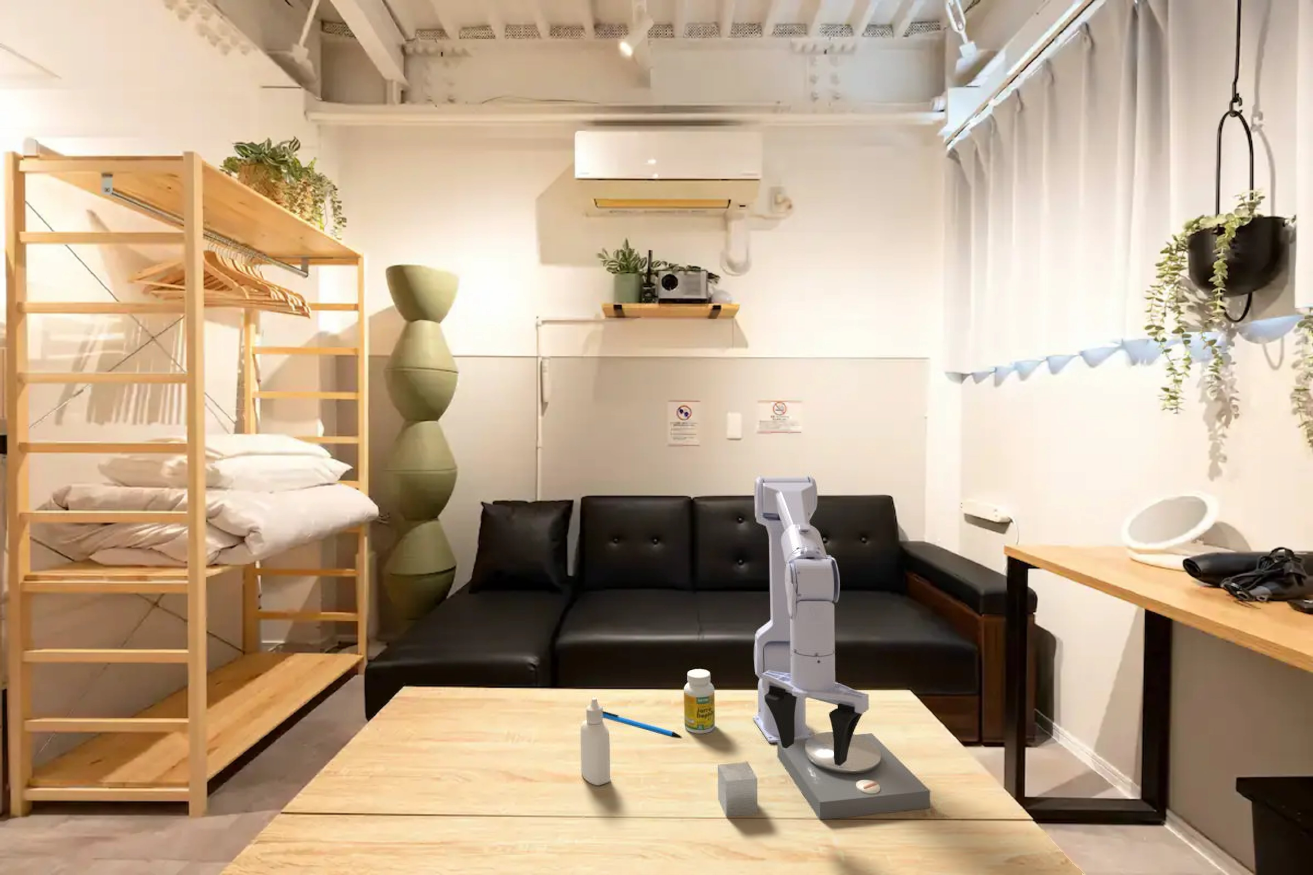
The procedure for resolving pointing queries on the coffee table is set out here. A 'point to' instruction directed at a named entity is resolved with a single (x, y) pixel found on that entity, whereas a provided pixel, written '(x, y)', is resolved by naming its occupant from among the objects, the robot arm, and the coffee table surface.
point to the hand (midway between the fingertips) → (813, 753)
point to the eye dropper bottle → (595, 746)
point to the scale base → (854, 784)
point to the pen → (639, 724)
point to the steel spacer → (737, 789)
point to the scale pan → (858, 758)
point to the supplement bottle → (699, 702)
